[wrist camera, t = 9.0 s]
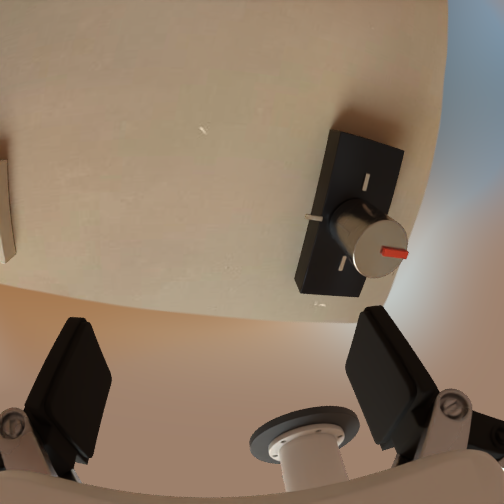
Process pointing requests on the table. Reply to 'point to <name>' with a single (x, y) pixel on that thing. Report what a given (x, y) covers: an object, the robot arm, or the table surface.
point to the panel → (331, 197)
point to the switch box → (5, 217)
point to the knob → (368, 238)
